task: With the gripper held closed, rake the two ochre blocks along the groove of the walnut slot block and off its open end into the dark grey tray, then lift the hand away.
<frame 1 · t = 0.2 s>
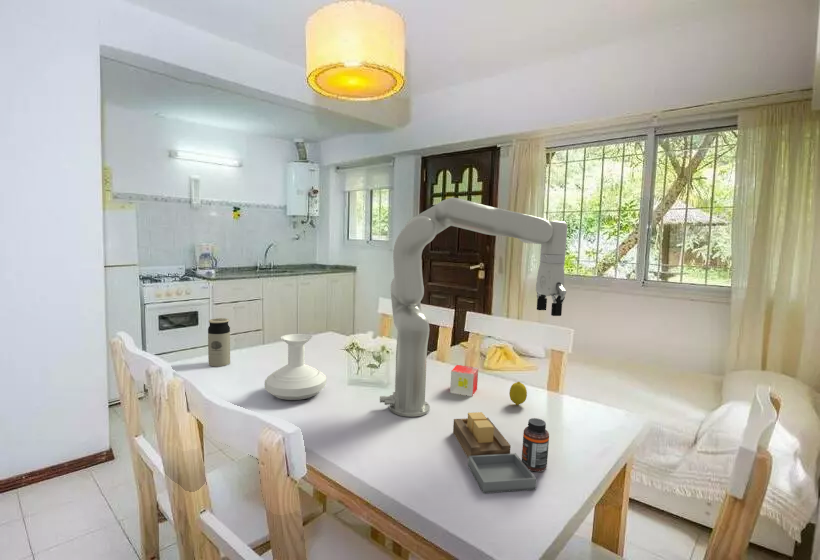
hand: (548, 312, 138), 31 cm above the table, tool pointing down, fingers open, 9 cm apart
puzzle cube: (463, 391, 152), on the table
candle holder: (296, 394, 144), on the table
yellow cube: (476, 429, 115), point 3 cm above the table, touching slot block
slot block: (479, 445, 112), on the table
supplement bottle: (533, 466, 103), on the table
travel mug: (219, 364, 171), on the table
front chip: (482, 438, 110), point 3 cm above the table, touching slot block
lemon: (517, 405, 140), on the table
tray: (500, 477, 98), on the table
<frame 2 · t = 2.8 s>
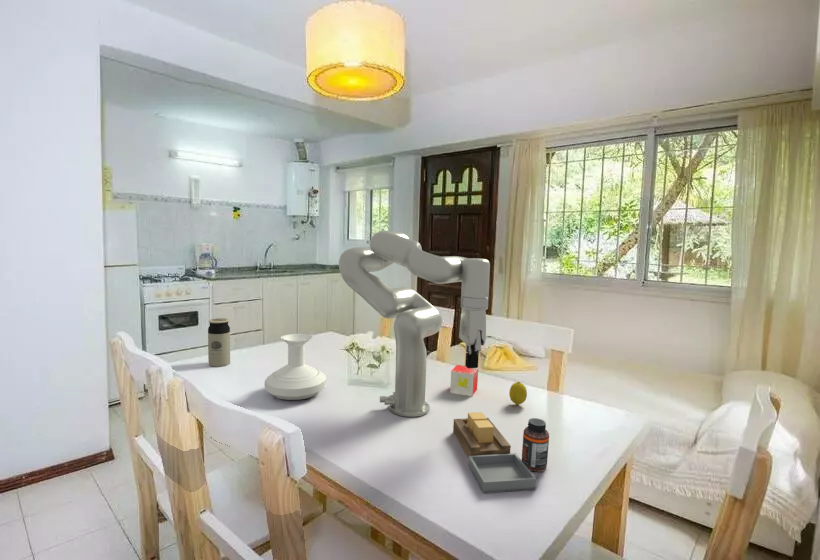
hand: (471, 367, 120), 18 cm above the table, tool pointing down, fingers closed
nothing on the table moved.
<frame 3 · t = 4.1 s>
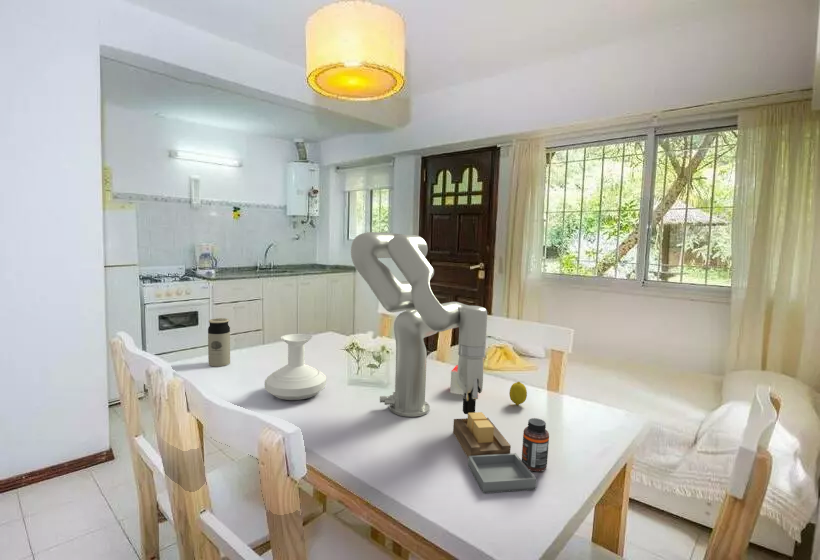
hand: (468, 412, 122), 5 cm above the table, tool pointing down, fingers closed
nothing on the table moved.
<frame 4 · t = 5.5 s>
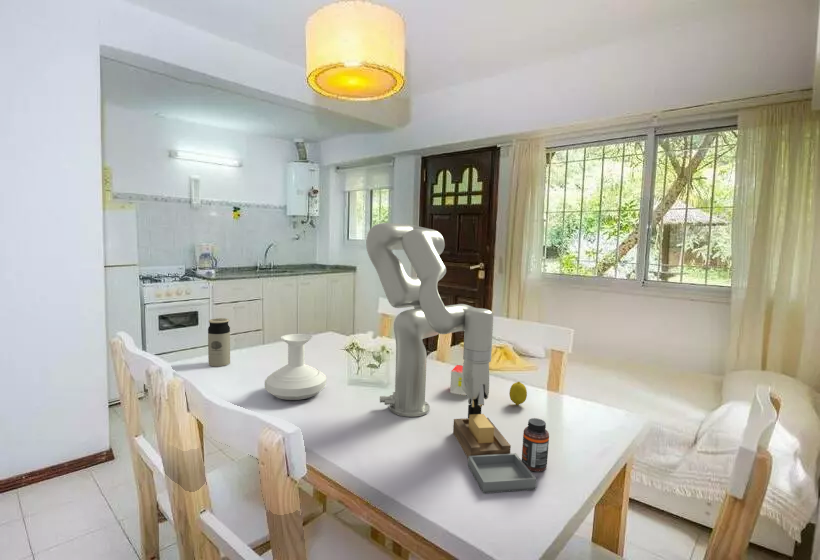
hand: (474, 419, 117), 5 cm above the table, tool pointing down, fingers closed
yellow cube: (478, 431, 114), point 3 cm above the table, touching gripper
everything else where it was.
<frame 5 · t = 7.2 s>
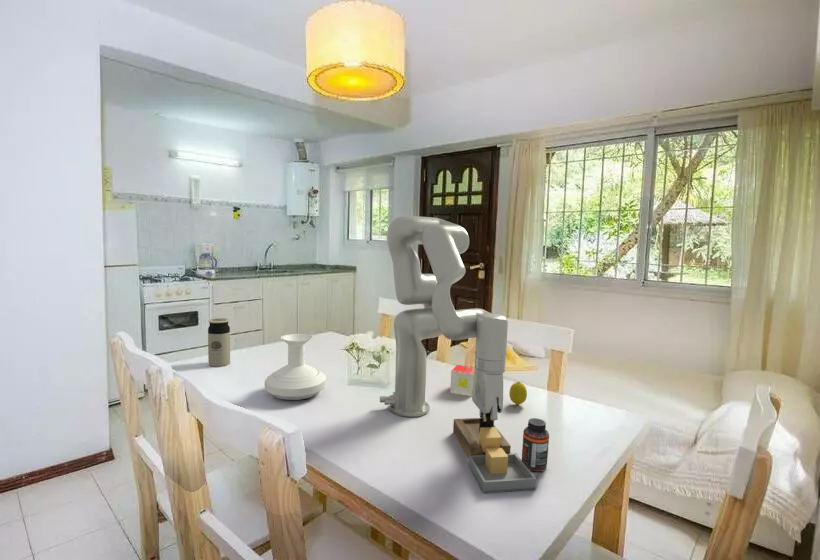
hand: (486, 434, 108), 5 cm above the table, tool pointing down, fingers closed
yellow cube: (488, 446, 105), point 3 cm above the table, tilted 11°, touching gripper, slot block
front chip: (493, 456, 102), point 2 cm above the table, tilted 90°, touching tray
everything else where it was.
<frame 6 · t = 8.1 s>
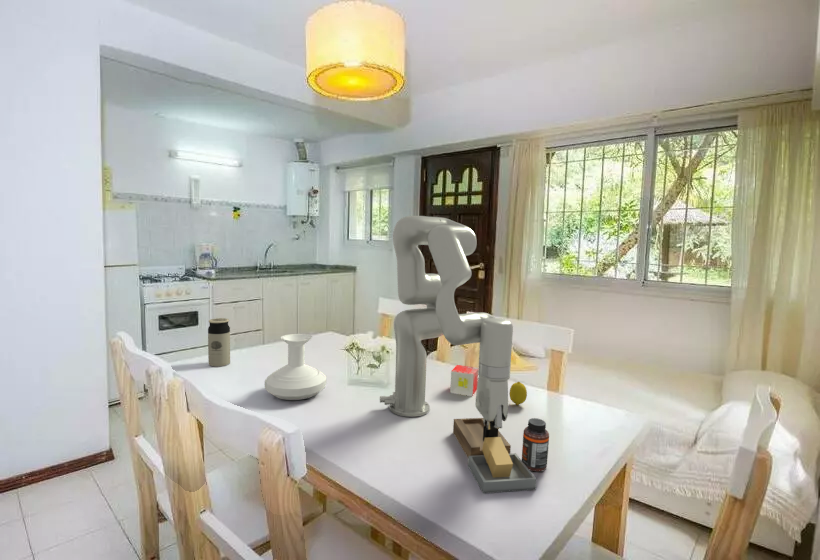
hand: (490, 442, 105), 5 cm above the table, tool pointing down, fingers closed
yellow cube: (492, 455, 102), point 2 cm above the table, tilted 19°, touching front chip, gripper, tray
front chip: (497, 456, 100), point 4 cm above the table, tilted 109°, touching yellow cube
everything else where it was.
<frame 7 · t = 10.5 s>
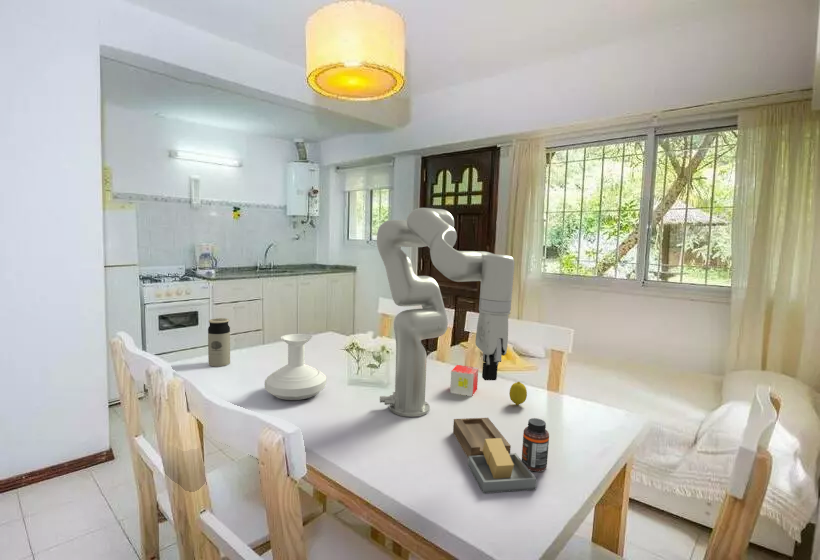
hand: (489, 379, 105), 20 cm above the table, tool pointing down, fingers closed
yellow cube: (492, 457, 102), point 2 cm above the table, tilted 19°, touching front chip, tray
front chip: (497, 457, 99), point 4 cm above the table, tilted 109°, touching yellow cube, tray
everything else where it was.
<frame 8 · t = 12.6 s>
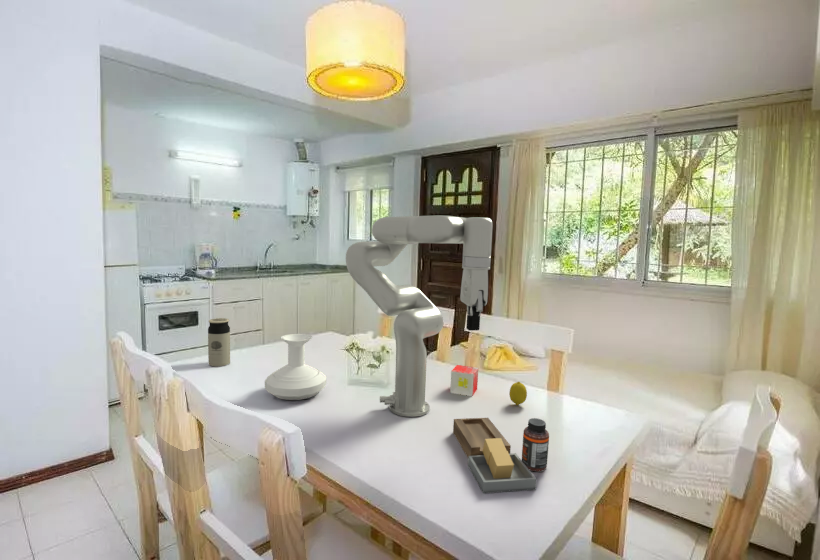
hand: (472, 329, 118), 29 cm above the table, tool pointing down, fingers closed
nothing on the table moved.
at the end: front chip inside the target area (1.9 cm from its centre), point 3.7 cm above the table; yellow cube inside the target area (4.5 cm from its centre), point 2.4 cm above the table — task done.
